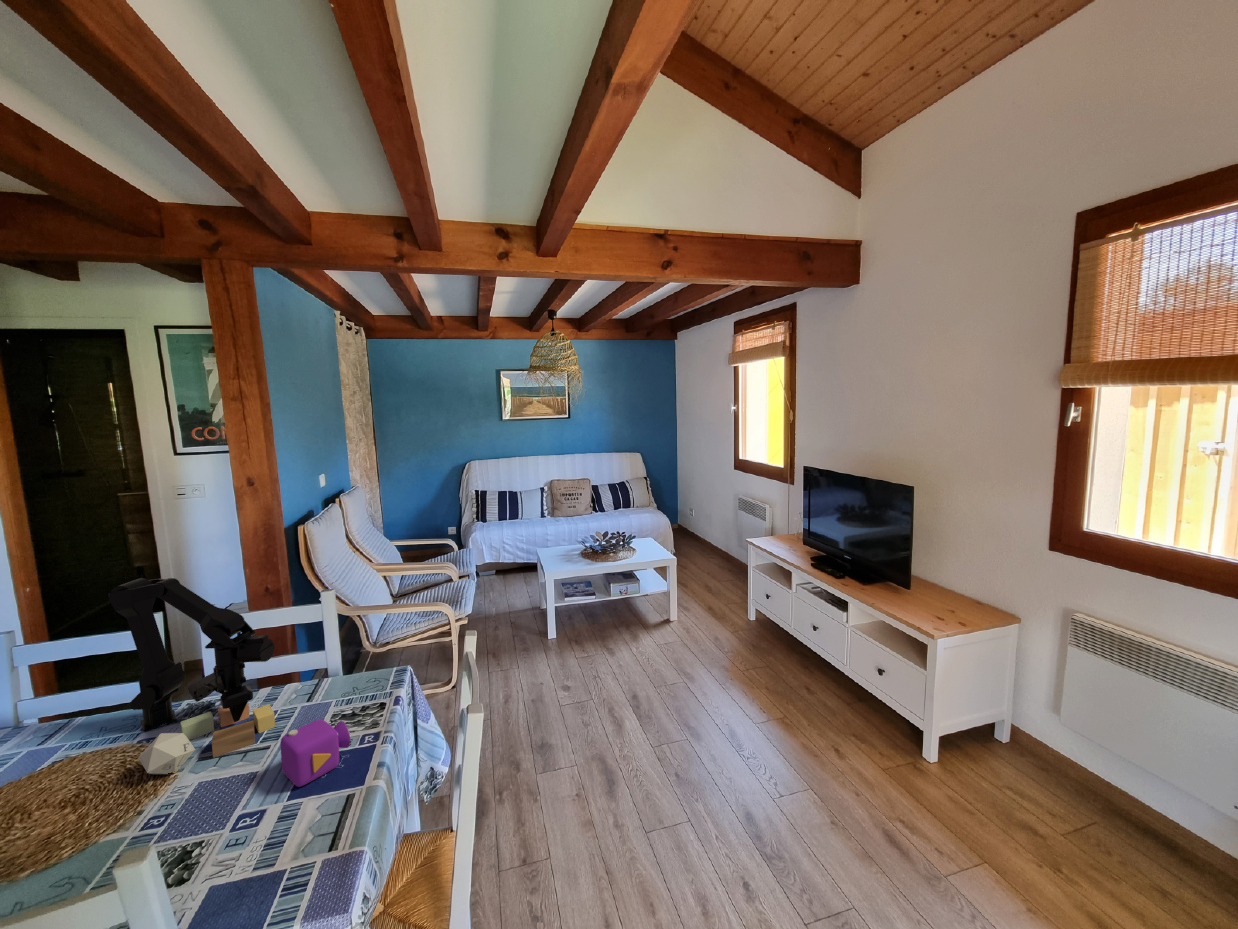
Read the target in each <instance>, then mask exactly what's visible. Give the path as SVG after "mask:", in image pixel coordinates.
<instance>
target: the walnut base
mask: <svg viewBox="0 0 1238 929" xmlns="http://www.w3.org/2000/svg"><path fill="white" fill-rule="evenodd" d="M255 737H256V736H255V724H254V719H252V720H250V721H247V722H242V723H239V724H236V725H233V726H230V727H227V728H224V729H223V728H221V729H219V730H216V731H212V740H211V748H212V749H211V750H212V758H217V757H219V756H222V755H226V754H229V753H233V752H234V751H238V750H242V749H244V748H246V747H247V748H248V747H250V746H253V745H255V744H256V743H255V740H256V738H255Z"/></svg>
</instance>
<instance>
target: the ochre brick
mask: <svg viewBox="0 0 1238 929" xmlns="http://www.w3.org/2000/svg"><path fill="white" fill-rule="evenodd" d="M252 715H253V716H252V717H253V720H254V727H255V728H256V730H257V733H258V734H261V733H263V732H266V731H268V730H271V729H273V728H276V716H275V715H276V714H275V711H274V710H273V708H272V706H271V705H270V703H268V704H266V705H263V706H260V707H258V708H257V707H256V708H255V709H252Z"/></svg>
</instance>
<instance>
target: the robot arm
mask: <svg viewBox="0 0 1238 929" xmlns="http://www.w3.org/2000/svg"><path fill="white" fill-rule="evenodd" d="M107 598H108V600H109V603H110V604H111V606H112V608H113V610H114V612H116V613H118V614H120V616H122V617H124V618H125V619H126V621H127V624H128V627H129V630H130V633H131V636H132V639H133V642H134V645H135V648H136V651H137V654H138V657H139V661H140V664H141V666H142V670H141V671H142V672H141V675H140V678H139V681H138V685H139V693H138V694H137V695H136V696H135V697H134V698H132V699H131V701H130V702H129V705H130V707H131V708H132V710H133V711H135V710H137V711H138V710H141V711H142V720H141V721H140V723H141V724H140V725H141V730H142V731H141V732H143V733H145V732H147V731H150V730H153V729H157V728H159V727H162V726H164V725H168V724H171V723H173V722H176V721H177V718H176V714H175V709H174V710H173V703H172V696H173V695H174V694H175V693H178V692H179V691H180V688H181V686H182V684H183V682H184V681H185V676H186V673H185V671H184V669H183V664H182V662H180V661H179V662H174V661H172V660H170V659H169V658H168V655H167V654H168V653H167V651H166V649H165V644H164V641H163V639H162V636H161V632H160V629H159V627H158V622H157V620H156V617H155V615H154V612H153V611H154V610H153V609H154V606H155V603H156V599H158V598H159V599H161V600H162V601H163V602H165V603H166V604H169V605H170V606H172V607H173V608H175V609H176V610H178V611H179V612H181V613H182V614H184V615H186V616H187V617H188V618H190V619H192V620H194V621H195V622H196V623H197V624H198V625H199V627H200V631H201V633H203V634H204V635H205V636H206V637H207V638H208V639H209V640H210V642H208V644H206V645H205V646H204V648H205V649H206V650H207V649H214V650H213V651H214V662H215V665H214V667H213V669H212V671H213V672H212V673H210V674H208V675H206V676H205V675H204V677H201V679H198V680H197V681H195V682H194V683H192V684H190V685H189V686H188V688H187V690H188V693H189V695H190V696H191V697H192V698H193V700H194V701H195V702H196V703H197V702H200V701H202V700H204V698H207V697H208V696H210V695H211V694H213V693H214V692H215V693H218V694H221V695H220V704H221V707H223V709H227V708H229V710H230V712H231V715H232V718H233V721H234V722H236V723H238V722H240V721H239V720H240V718H241V716H242V713H243V711H244V709H245V707H246V705H247V703H248V702H249V701H252V700H253V699H254V693H253V690H252V688H251V687H250V686H249V685H246V684H245V685H243V684H244V683H247V678H246V676H245V668H246V663H266V662H268V661H270V659H271V658H272V657H273V655H274V652H275V646H276V645H275V643H274V642H273V640H272V639H270V638H269V635H267V634H262V635H255V634H256V631H255V630H254V629H253V627H252V626H251V625H250V624H248V622H247V621H246V620H245V617H244V616H243V615H242V614H241V613H238V612H237V611H234V610H232V609H229V608H222V607H218V606H215V605H214V604H212V603H210V602H209V601H207V600H206V599H204V598H203V597H201V596H200V595H198V594H197V593H195V592H193V591H192V590H191V589H189V588H188V587H186V586H185V585H183V584H182V583H181V581H179V580H178V579H177V578H173V577H170V578H155V579H148V578H144V577H141V578H137V579H134V580H131V581H128V582H126V583H122V584H120V585H116V586H114V587H113V588H112V589H111V590H110V592H109V593H108V597H107ZM238 633H240V634H238ZM237 634H238V635H237ZM234 636H235V637H234ZM248 704H249V703H248ZM237 721H238V722H237Z"/></svg>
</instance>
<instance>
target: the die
mask: <svg viewBox="0 0 1238 929" xmlns="http://www.w3.org/2000/svg"><path fill="white" fill-rule="evenodd" d="M195 751H196V749H195V747H194V746H193V744H192V742H191V740H188V738H187V737H186V735H185V734H184V733H181V732H170V733H169V732H168V733H166V732H164V733H163V732H162V733H159V735H157V736H156V738H155V739H154V740H153V741H152V742H151V743H150V744H149V745H148V746H147V747H146V749H145V750H144V751H143V752H142V753H141V754H139V756H138V759H139V761H140V763H141V765H142V767H143V768H144V769H145V771H146V773H147V774H149V775H169V774H168V773H171V772H174V771H177V772H178V770H180V768H181V767H182V766H183V765H184V764H185V762H186V761H187V760H188V759H189V758H190V756H191V755H192V754H193V753H194V752H195Z"/></svg>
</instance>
